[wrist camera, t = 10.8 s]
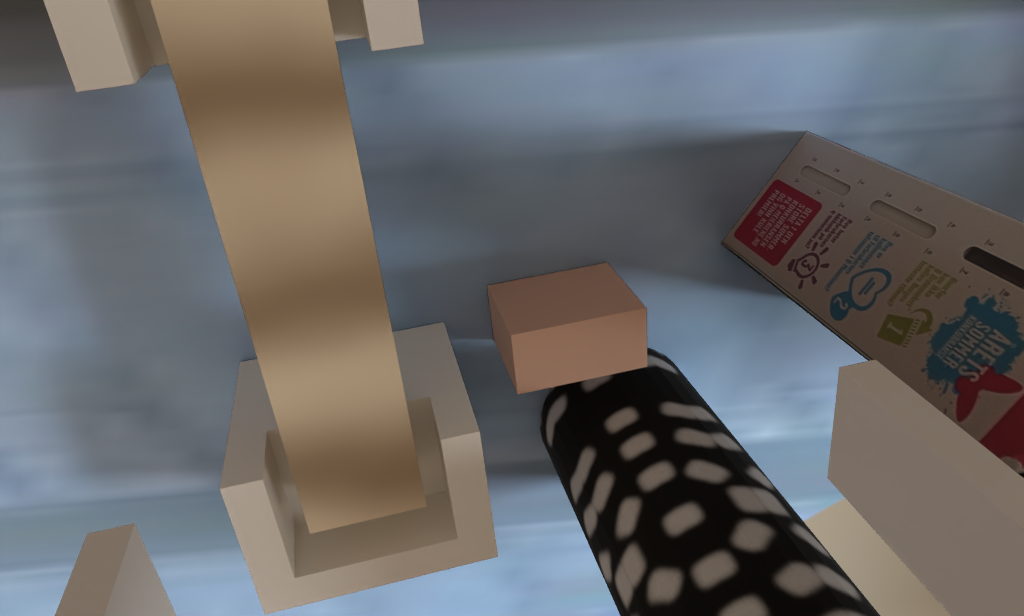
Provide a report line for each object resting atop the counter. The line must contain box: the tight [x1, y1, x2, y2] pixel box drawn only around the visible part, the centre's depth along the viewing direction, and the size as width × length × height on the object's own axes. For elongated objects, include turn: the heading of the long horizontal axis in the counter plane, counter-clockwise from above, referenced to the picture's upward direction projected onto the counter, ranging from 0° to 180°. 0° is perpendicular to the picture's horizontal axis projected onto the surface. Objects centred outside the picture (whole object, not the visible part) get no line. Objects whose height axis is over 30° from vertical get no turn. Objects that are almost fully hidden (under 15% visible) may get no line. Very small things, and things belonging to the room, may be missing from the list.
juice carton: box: [721, 131, 1024, 478], centre depth 29 cm, size 7×7×22 cm
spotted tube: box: [540, 348, 880, 616], centre depth 33 cm, size 8×8×20 cm
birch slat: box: [150, 0, 427, 534], centre depth 26 cm, size 20×4×3 cm, turn 6°
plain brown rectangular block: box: [487, 263, 647, 394], centre depth 31 cm, size 21×6×5 cm, turn 5°
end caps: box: [43, 0, 498, 614], centre depth 29 cm, size 27×10×9 cm, turn 6°
